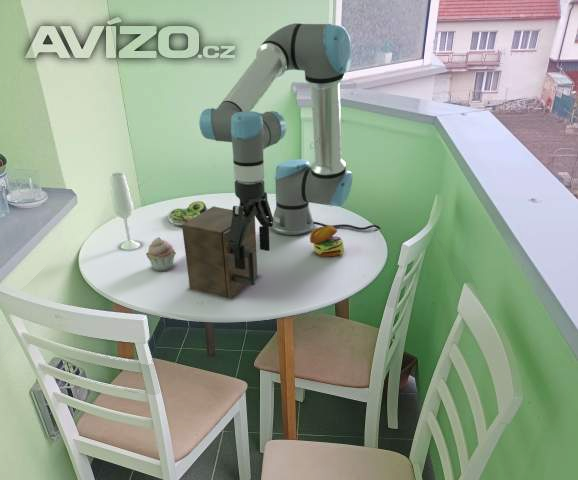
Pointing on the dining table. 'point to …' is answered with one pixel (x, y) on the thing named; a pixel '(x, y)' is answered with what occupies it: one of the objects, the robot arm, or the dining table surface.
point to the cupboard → (207, 250)
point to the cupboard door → (247, 276)
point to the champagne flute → (122, 205)
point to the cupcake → (161, 255)
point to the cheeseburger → (326, 241)
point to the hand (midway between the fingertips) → (252, 258)
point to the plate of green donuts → (186, 213)
